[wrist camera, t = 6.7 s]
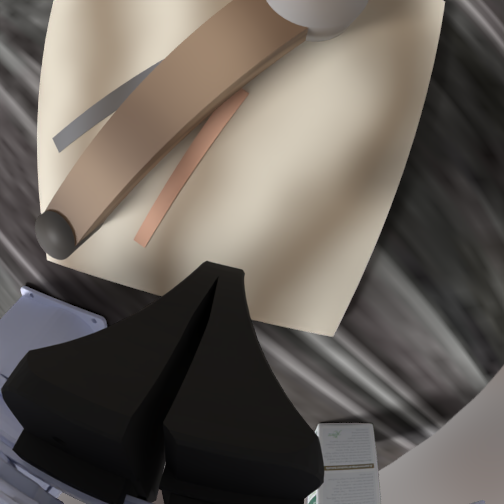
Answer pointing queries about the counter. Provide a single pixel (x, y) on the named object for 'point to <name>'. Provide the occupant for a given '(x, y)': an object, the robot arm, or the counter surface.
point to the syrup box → (347, 465)
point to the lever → (181, 105)
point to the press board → (244, 152)
